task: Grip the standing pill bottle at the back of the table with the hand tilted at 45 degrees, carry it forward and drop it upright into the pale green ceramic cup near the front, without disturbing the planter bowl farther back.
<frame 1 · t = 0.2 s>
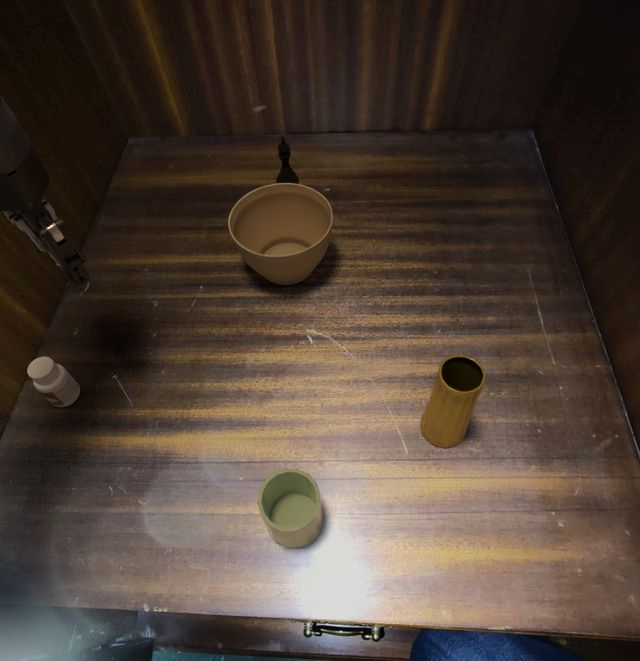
hand: (63, 264, 63), 19 cm above the table, tool pointing down, fingers open, 8 cm apart
vase: (442, 427, 70), on the table
pill bottle: (66, 395, 75), on the table
planter bowl: (287, 265, 88), on the table
cup: (294, 518, 64), on the table
chess piece: (287, 182, 101), on the table
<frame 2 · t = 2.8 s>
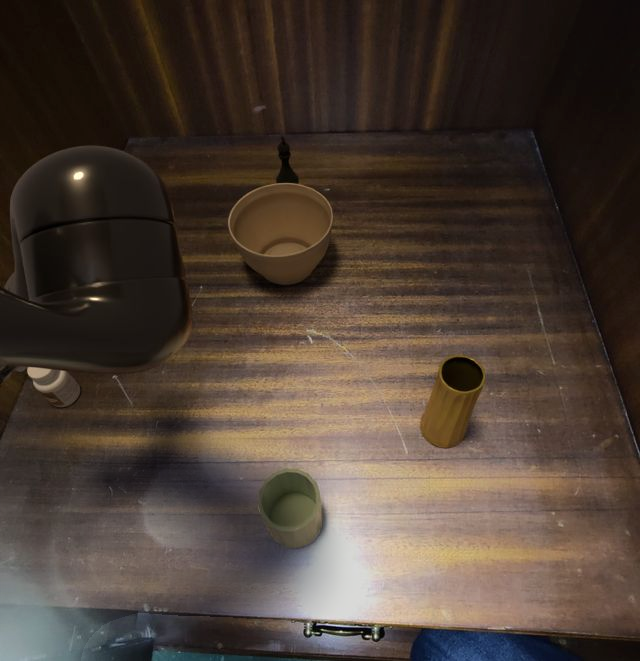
hand: (34, 333, 52), 24 cm above the table, tool tilted 45°, fingers open, 8 cm apart
nothing on the table moved.
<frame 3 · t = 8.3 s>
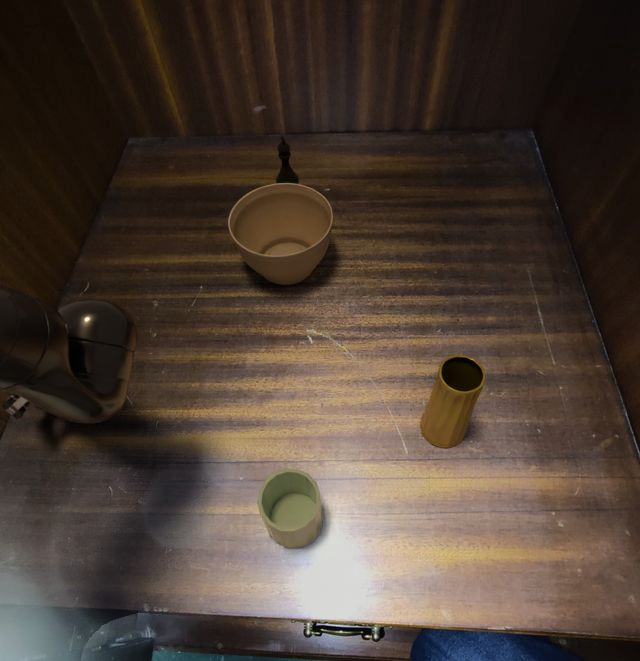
hand: (43, 374, 73), 4 cm above the table, tool tilted 45°, fingers closed on pill bottle, 4 cm apart
pill bottle: (66, 395, 75), on the table, touching gripper
everything else where it was.
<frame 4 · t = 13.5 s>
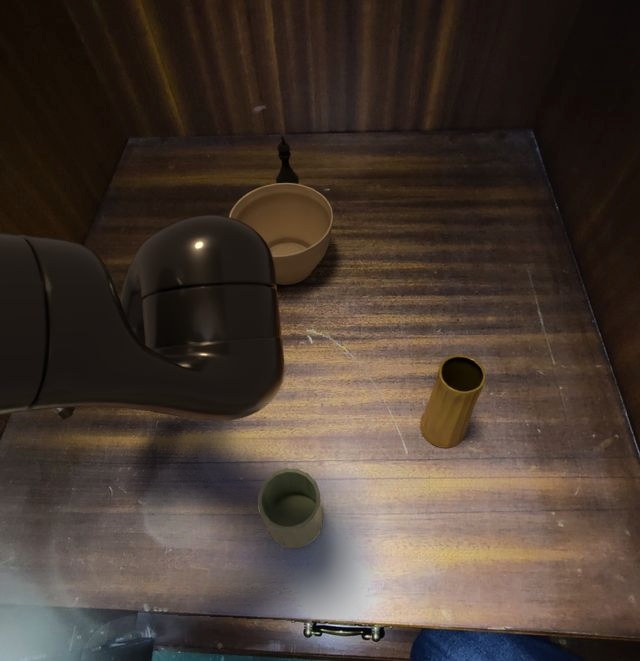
hand: (90, 360, 55), 20 cm above the table, tool tilted 45°, fingers closed on pill bottle, 4 cm apart
pill bottle: (118, 388, 58), point 16 cm above the table, touching gripper
everything else where it was.
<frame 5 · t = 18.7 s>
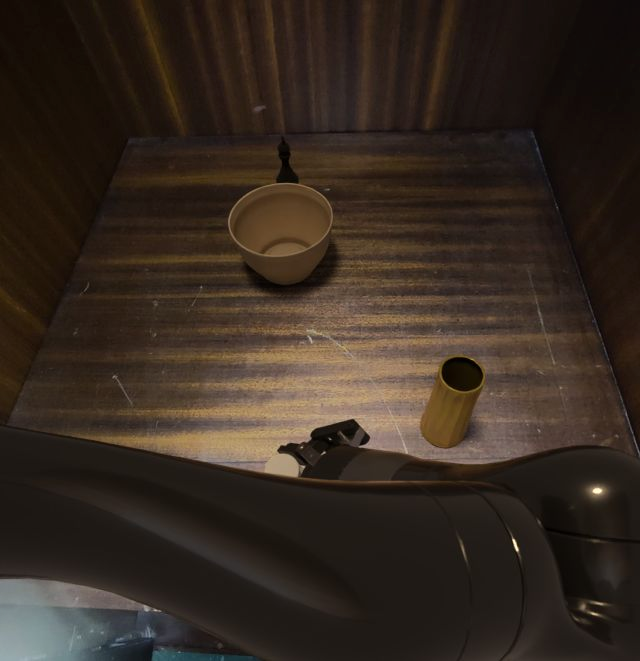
hand: (270, 473, 53), 13 cm above the table, tool tilted 45°, fingers closed on pill bottle, 4 cm apart
pill bottle: (289, 496, 56), point 9 cm above the table, touching gripper
everything else where it was.
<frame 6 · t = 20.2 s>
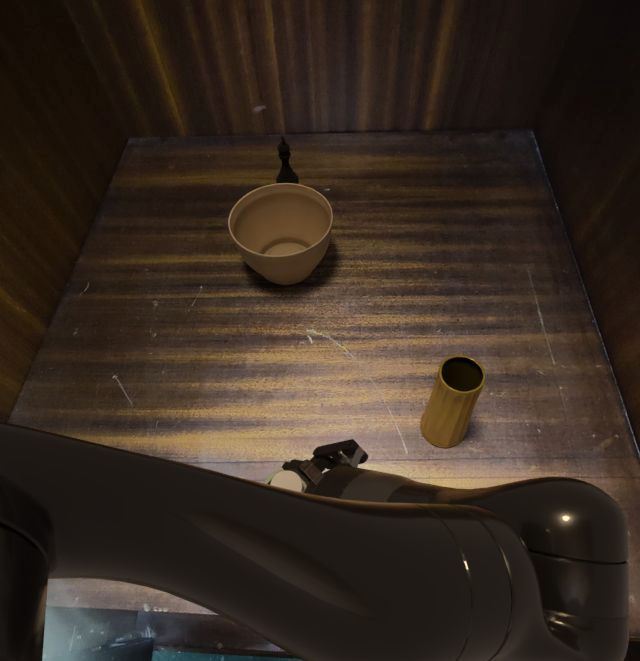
hand: (275, 488, 57), 9 cm above the table, tool tilted 45°, fingers closed on pill bottle, 4 cm apart
pill bottle: (292, 509, 60), point 4 cm above the table, touching gripper
everything else where it was.
when the fingers open (10 cm above the table, at t = 29.1 s): pill bottle drops 5 cm, resting on cup.
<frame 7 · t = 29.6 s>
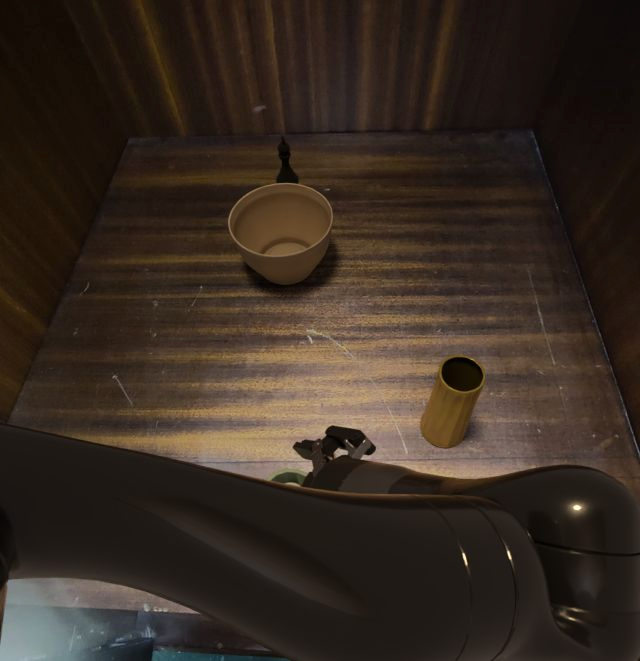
hand: (276, 482, 55), 11 cm above the table, tool tilted 45°, fingers open, 8 cm apart
pill bottle: (295, 517, 63), resting on cup
everything else where it was.
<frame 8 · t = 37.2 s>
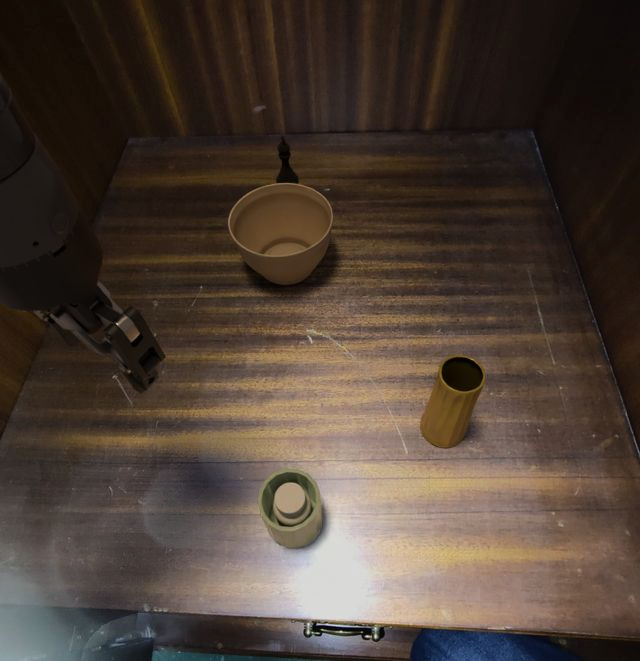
hand: (112, 360, 45), 28 cm above the table, tool pointing down, fingers open, 8 cm apart
nothing on the table moved.
at the end: pill bottle 0.1 cm off-centre in the cup, point 0.4 cm above the cup's base; pill bottle tilted 0°; planter bowl moved 0.2 cm from its start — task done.
